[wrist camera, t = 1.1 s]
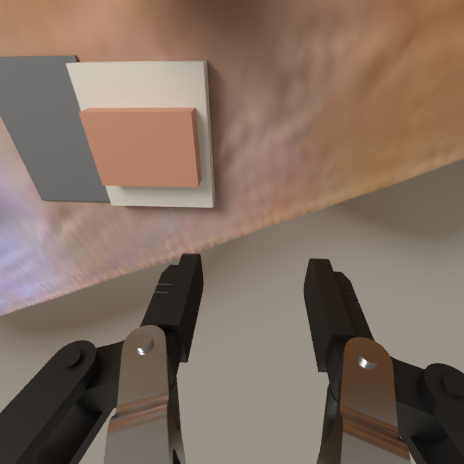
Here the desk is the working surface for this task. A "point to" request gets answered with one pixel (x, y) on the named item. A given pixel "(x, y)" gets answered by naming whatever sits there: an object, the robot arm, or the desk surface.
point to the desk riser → (152, 96)
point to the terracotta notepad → (144, 146)
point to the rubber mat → (49, 127)
